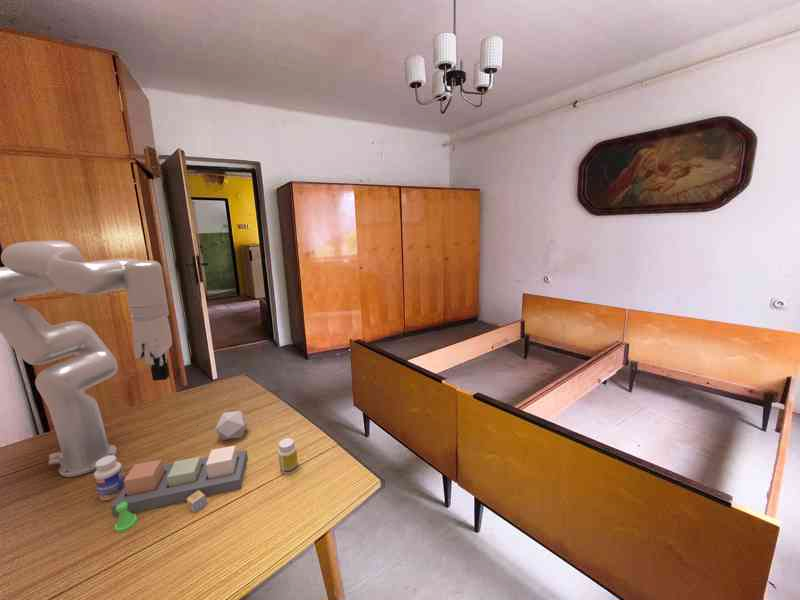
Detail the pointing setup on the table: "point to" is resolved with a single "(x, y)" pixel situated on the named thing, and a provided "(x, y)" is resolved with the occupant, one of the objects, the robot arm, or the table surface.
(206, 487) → the board
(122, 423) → the table surface
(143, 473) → the terracotta block
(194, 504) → the alphabet block
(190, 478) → the green block
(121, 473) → the pill bottle
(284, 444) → the supplement bottle
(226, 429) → the die
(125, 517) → the game piece
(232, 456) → the cream block
